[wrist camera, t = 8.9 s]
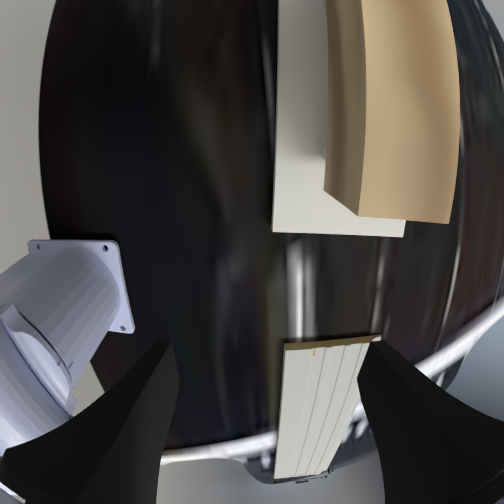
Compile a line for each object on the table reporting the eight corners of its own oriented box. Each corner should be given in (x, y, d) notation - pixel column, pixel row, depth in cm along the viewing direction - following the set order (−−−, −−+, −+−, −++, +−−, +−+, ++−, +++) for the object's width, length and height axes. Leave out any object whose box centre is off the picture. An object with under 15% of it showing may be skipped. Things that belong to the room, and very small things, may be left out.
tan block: (323, 190, 14) (357, 216, 9) (322, -33, 8) (345, -79, 4) (396, 196, 14) (448, 223, 9) (391, -15, 9) (430, -48, 4)
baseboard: (391, 328, 22) (282, 338, 22) (404, 348, 19) (286, 362, 20) (334, 464, 34) (273, 471, 34) (336, 478, 31) (274, 485, 31)
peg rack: (271, 226, 18) (275, 243, 15) (278, -43, 10) (281, -66, 7) (396, 232, 18) (416, 248, 15) (397, -17, 10) (415, -31, 7)
